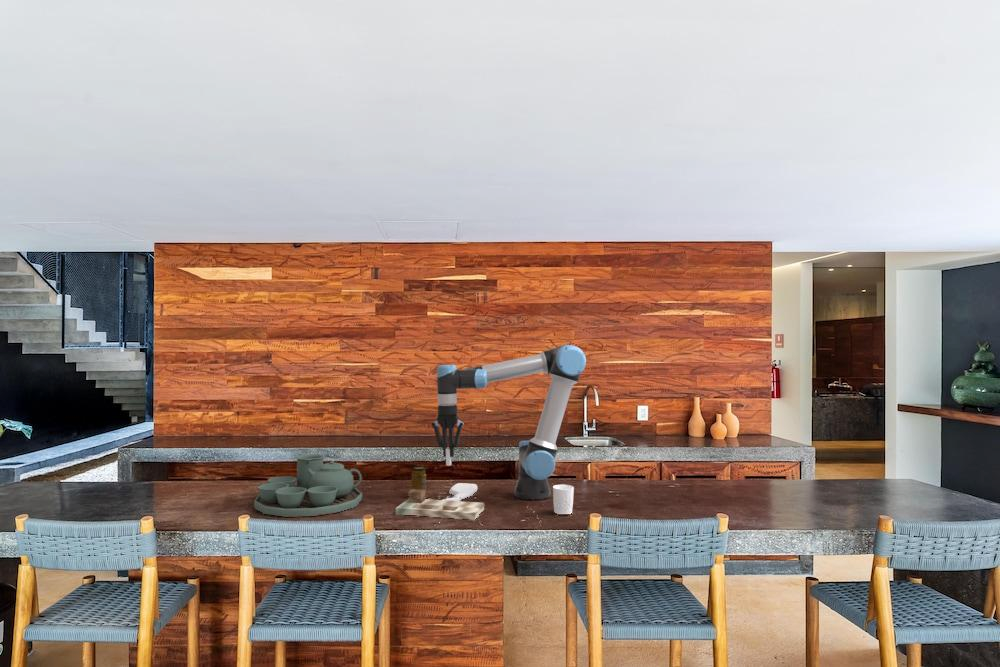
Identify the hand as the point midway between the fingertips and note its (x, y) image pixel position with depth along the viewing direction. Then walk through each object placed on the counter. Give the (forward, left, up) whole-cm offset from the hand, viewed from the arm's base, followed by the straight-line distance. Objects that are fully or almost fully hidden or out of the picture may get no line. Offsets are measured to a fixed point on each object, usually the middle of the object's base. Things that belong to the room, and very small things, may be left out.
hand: (448, 464), depth 239 cm
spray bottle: (0, -16, -17) cm, 23 cm away
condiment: (+15, -10, -16) cm, 24 cm away
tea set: (+53, +10, -16) cm, 56 cm away
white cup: (-45, +1, -16) cm, 48 cm away
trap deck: (0, +10, -16) cm, 18 cm away
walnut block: (+11, +6, -13) cm, 18 cm away
